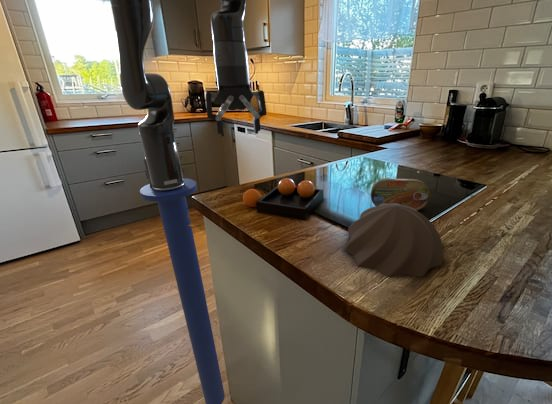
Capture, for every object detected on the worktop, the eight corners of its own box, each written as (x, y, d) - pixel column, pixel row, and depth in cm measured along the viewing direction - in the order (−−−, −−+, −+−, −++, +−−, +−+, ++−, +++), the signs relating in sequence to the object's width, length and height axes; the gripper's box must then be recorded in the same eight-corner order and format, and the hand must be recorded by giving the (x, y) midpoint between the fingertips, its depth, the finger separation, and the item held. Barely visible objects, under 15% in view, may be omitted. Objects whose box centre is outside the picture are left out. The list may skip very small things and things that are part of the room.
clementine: (240, 208, 81) (238, 191, 79) (250, 201, 86) (248, 185, 84) (256, 211, 80) (254, 194, 78) (265, 204, 84) (264, 187, 82)
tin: (369, 209, 80) (372, 179, 77) (369, 204, 83) (371, 176, 80) (427, 212, 78) (432, 182, 75) (425, 207, 81) (430, 178, 78)
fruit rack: (256, 212, 79) (254, 189, 77) (280, 193, 91) (279, 173, 89) (305, 220, 75) (304, 196, 72) (323, 199, 87) (323, 178, 84)
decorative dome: (424, 292, 50) (434, 241, 46) (326, 253, 61) (327, 209, 57) (453, 243, 64) (462, 200, 60) (370, 219, 75) (372, 181, 71)
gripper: (259, 64, 75) (264, 130, 81) (199, 65, 70) (209, 134, 77) (265, 64, 68) (270, 135, 75) (199, 64, 64) (210, 139, 70)
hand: (239, 134), depth 76 cm, fingers open, 8 cm apart
